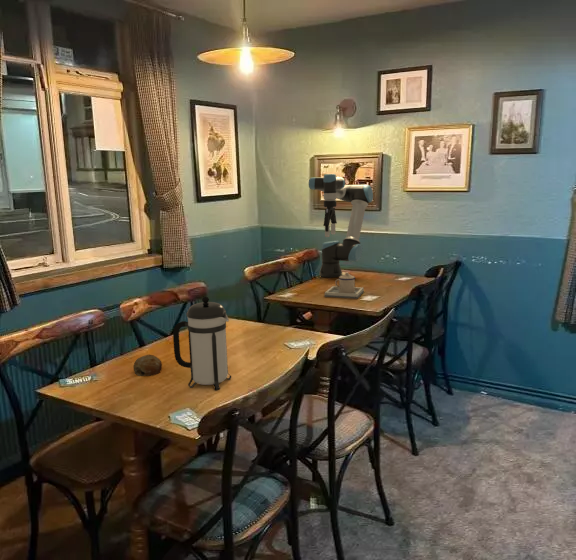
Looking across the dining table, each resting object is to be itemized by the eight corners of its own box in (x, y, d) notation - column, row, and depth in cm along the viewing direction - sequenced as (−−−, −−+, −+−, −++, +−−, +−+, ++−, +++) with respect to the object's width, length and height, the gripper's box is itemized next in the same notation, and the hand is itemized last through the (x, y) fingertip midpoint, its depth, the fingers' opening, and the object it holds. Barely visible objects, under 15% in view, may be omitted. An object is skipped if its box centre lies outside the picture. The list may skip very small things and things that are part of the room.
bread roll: (132, 383, 189) (126, 367, 184) (142, 362, 197) (137, 347, 192) (158, 384, 187) (152, 369, 182) (167, 363, 195) (162, 348, 190)
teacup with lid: (357, 291, 302) (357, 271, 300) (350, 295, 295) (350, 274, 292) (339, 289, 309) (339, 270, 306) (331, 292, 301) (331, 272, 299)
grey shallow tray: (332, 290, 313) (332, 286, 312) (364, 291, 306) (364, 287, 306) (324, 296, 297) (324, 292, 296) (357, 298, 290) (357, 294, 290)
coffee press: (224, 371, 189) (220, 288, 183) (238, 387, 174) (234, 298, 168) (175, 379, 182) (169, 294, 176) (186, 396, 168) (179, 304, 162)
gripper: (329, 199, 329) (329, 233, 333) (318, 201, 306) (318, 237, 310) (341, 199, 326) (341, 233, 331) (330, 201, 303) (330, 238, 308)
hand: (330, 235), depth 320 cm, fingers open, 13 cm apart
